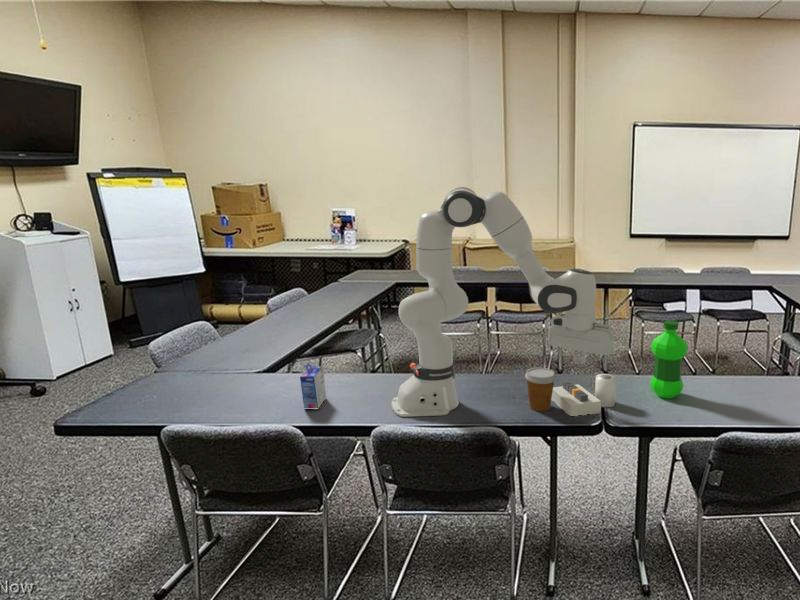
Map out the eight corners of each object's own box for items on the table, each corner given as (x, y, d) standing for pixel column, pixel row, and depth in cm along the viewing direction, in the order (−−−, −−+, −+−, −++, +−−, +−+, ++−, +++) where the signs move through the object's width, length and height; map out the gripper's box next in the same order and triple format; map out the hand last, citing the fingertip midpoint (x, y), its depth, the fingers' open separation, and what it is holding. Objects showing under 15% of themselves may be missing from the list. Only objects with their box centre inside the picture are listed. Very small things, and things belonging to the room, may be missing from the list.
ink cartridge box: (311, 398, 183) (308, 359, 179) (326, 398, 182) (323, 359, 179) (302, 410, 173) (298, 369, 170) (318, 410, 172) (314, 369, 169)
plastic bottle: (673, 388, 176) (678, 317, 170) (689, 401, 166) (695, 326, 160) (643, 389, 176) (647, 318, 171) (657, 402, 166) (662, 327, 160)
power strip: (570, 417, 159) (571, 398, 158) (539, 389, 180) (539, 373, 179) (600, 413, 161) (601, 395, 159) (566, 386, 182) (566, 370, 181)
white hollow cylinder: (601, 408, 164) (602, 381, 162) (591, 400, 170) (592, 374, 168) (618, 406, 165) (619, 379, 163) (607, 398, 171) (609, 372, 169)
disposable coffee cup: (552, 401, 171) (552, 366, 168) (557, 413, 162) (558, 377, 159) (522, 401, 172) (523, 367, 169) (526, 413, 163) (527, 378, 160)
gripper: (618, 323, 155) (616, 366, 158) (555, 314, 169) (555, 354, 172) (609, 328, 151) (608, 372, 154) (545, 318, 165) (545, 359, 168)
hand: (579, 363), depth 163 cm, fingers closed
